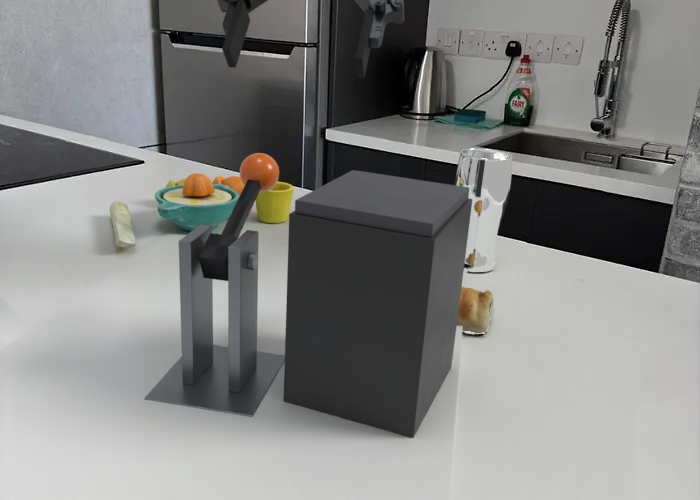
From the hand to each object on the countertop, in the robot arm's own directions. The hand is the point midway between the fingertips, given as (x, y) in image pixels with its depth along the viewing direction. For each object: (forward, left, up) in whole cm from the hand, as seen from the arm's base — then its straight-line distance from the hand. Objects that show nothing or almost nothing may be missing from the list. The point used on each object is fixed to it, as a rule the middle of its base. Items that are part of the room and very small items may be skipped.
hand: (293, 63), depth 69 cm
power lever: (+3, -14, -13) cm, 19 cm away
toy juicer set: (-25, +17, -26) cm, 40 cm away
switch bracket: (+4, -20, -26) cm, 33 cm away
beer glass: (+17, +21, -26) cm, 37 cm away
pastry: (+19, +3, -26) cm, 32 cm away
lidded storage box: (+16, -15, -26) cm, 34 cm away
